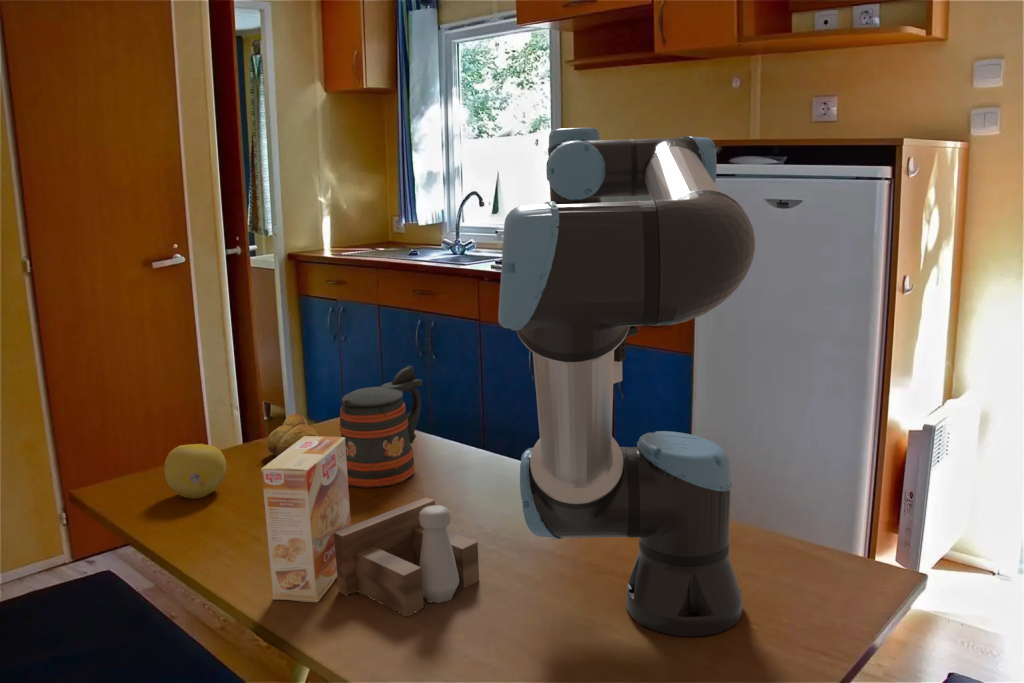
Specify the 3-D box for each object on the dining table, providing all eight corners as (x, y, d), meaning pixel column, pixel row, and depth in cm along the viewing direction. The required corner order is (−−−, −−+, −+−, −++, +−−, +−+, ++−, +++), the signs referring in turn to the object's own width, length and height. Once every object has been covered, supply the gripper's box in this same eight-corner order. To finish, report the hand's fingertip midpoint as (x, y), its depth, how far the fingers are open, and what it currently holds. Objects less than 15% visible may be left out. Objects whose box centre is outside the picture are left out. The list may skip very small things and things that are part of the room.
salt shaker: (441, 582, 127) (437, 497, 125) (468, 595, 124) (464, 507, 121) (409, 597, 123) (404, 509, 121) (436, 610, 119) (431, 520, 117)
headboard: (487, 576, 129) (485, 518, 127) (396, 622, 117) (392, 558, 115) (429, 551, 138) (426, 497, 136) (338, 591, 126) (333, 532, 124)
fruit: (235, 495, 164) (230, 444, 162) (175, 509, 158) (169, 456, 156) (219, 480, 173) (214, 431, 171) (161, 493, 167) (155, 442, 165)
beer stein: (393, 452, 186) (387, 359, 182) (445, 464, 177) (440, 367, 173) (323, 479, 171) (315, 378, 167) (376, 494, 162) (369, 389, 158)
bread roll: (332, 458, 184) (329, 421, 182) (289, 469, 177) (286, 431, 176) (302, 444, 193) (299, 409, 192) (261, 455, 187) (257, 418, 185)
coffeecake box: (318, 603, 123) (307, 469, 119) (270, 600, 124) (258, 468, 120) (356, 556, 137) (347, 435, 133) (312, 554, 138) (302, 434, 134)
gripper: (661, 236, 124) (661, 382, 129) (531, 231, 142) (535, 360, 146) (629, 241, 119) (630, 393, 123) (498, 235, 136) (503, 369, 141)
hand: (579, 376), depth 135 cm, fingers open, 13 cm apart
